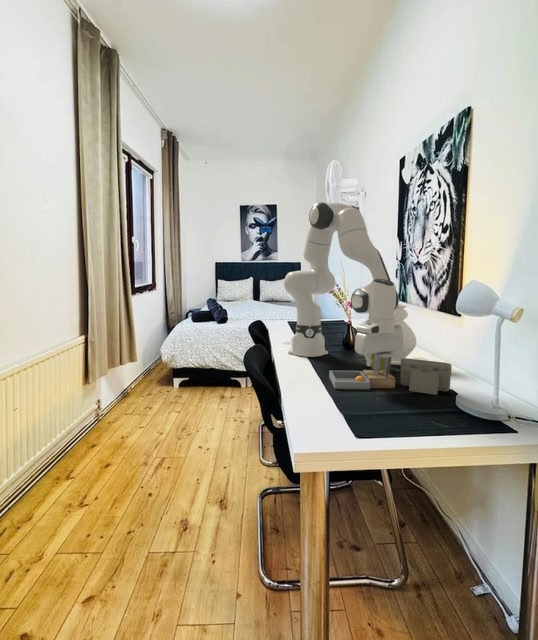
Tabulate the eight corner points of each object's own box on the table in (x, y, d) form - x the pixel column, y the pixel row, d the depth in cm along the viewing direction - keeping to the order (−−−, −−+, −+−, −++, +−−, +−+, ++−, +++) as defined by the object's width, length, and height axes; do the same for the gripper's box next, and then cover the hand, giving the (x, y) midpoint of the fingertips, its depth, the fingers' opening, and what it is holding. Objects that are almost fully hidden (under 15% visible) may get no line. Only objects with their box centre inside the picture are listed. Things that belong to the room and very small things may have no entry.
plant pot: (392, 373, 150) (393, 351, 149) (367, 371, 152) (368, 350, 151) (390, 367, 159) (391, 346, 158) (366, 365, 161) (367, 345, 160)
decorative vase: (376, 354, 181) (379, 302, 177) (416, 358, 173) (420, 304, 170) (369, 363, 165) (372, 305, 161) (413, 368, 158) (417, 308, 154)
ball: (355, 375, 137) (363, 380, 136) (352, 382, 135) (359, 386, 135) (359, 373, 134) (366, 377, 134) (355, 380, 133) (363, 384, 132)
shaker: (380, 369, 139) (383, 349, 137) (392, 375, 135) (395, 355, 133) (369, 371, 136) (372, 352, 134) (381, 377, 132) (384, 357, 130)
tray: (329, 376, 144) (329, 370, 144) (361, 377, 144) (361, 371, 144) (334, 388, 130) (334, 381, 130) (369, 389, 130) (370, 382, 130)
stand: (362, 379, 142) (362, 369, 141) (386, 379, 142) (387, 370, 141) (368, 387, 132) (369, 377, 131) (394, 388, 132) (395, 378, 131)
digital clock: (452, 391, 129) (454, 361, 128) (445, 398, 122) (448, 366, 121) (403, 382, 139) (405, 353, 138) (395, 388, 132) (397, 358, 130)
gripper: (395, 322, 141) (393, 359, 144) (352, 326, 132) (351, 365, 134) (409, 325, 136) (406, 363, 138) (365, 329, 126) (363, 369, 128)
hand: (378, 364), depth 136 cm, fingers open, 7 cm apart
